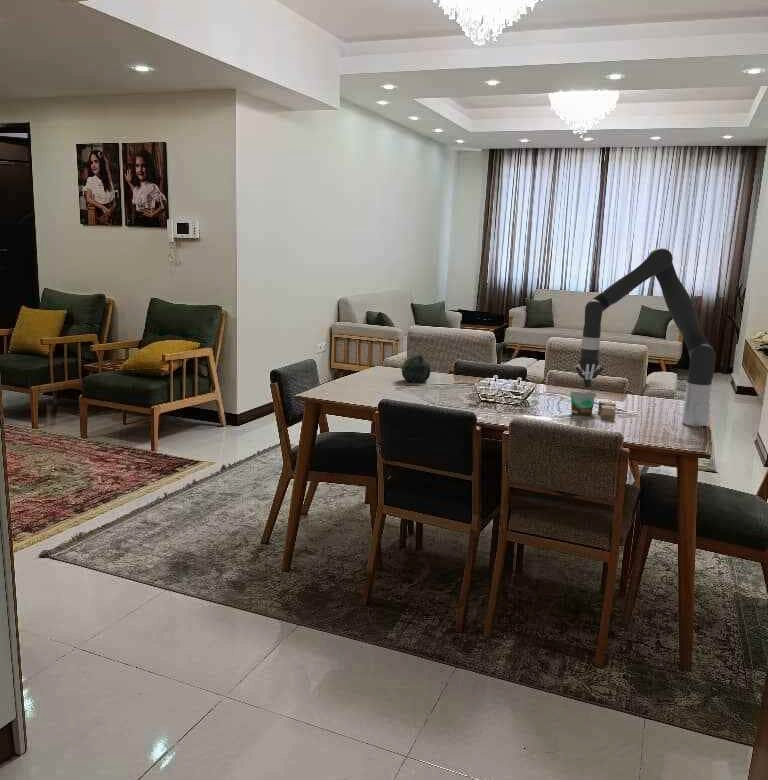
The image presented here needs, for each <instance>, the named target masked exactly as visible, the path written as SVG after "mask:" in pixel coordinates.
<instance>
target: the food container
mask: <svg viewBox="0 0 768 780" xmlns="http://www.w3.org/2000/svg"><path fill="white" fill-rule="evenodd" d="M569 396H570V398H571V399H570V401H571V405H570V406H571V407H570V408H571V410H570V411H571V413H570V414H571V415H575V416H581V417H582V416H583V417H584V416H585V417H586V416H587V417H588V416H591V415H593V409H594V404H595V398H597V391H596V390H595V389H592V390H591V391H578V392H577V391H573V390H572V391H570V394H569Z"/></svg>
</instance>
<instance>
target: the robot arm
mask: <svg viewBox="0 0 768 780" xmlns="http://www.w3.org/2000/svg"><path fill="white" fill-rule="evenodd" d="M673 259H674V258H673V254H672V252H671V251H670V250H669V249H666V248H664V247H659V248H655V249H653V250H652V251H651V252H650V253H649V254H648V256H647V257H646V258H645V260H643V262H642V263H640V264H639V265H638V266H637V267H635V268H634V269H633V270H632V271H629V273H627V274H625V275H623V276H622V277H620V278H619V279H617V281H615V282H614V283H612V284H611V285H609V286H608V287H607V288H605V289H604V290H603V291H602V292H601V293H599V294H598V295H596V296H594V297H593V298H591V299H590V300H589V301H588V302H587V303H586V305H585V306H584V324H583V328H582V329H583V330H582V340H581V343H580V344H581V345H580V359H579V361H578V364H576V365H573V369H574V371H575V372H576V373H577V375H578V377H580V378H581V379H583V381H582V382H583V383H582V385H583V386H582V387H584V388H585V389H590V387H591V386H592V380H593V379H596V378H598V376H599V375H600V374H601V373H602V371H603V370H605V367H603V366H602V365H600V362H599V358H600V349H601V330H602V328H601V327H602V326H601V325H602V324H601V323H602V316H603V312H604V311H605V310H606V309H608V308H609V307H610V306H612V305H614V304H616V303H618V302H619V301H621V300H622V299H623V298H624V297H626V296H628V294H630V293H631V292H632V291H633V290H635V289H636V288H637V287H639V286H640V285H642V283H644V282H646V281H647V280H648V279H650V278H651V277H653V276H654V277H655V278H656V280H657V282H658V284H659V286H660V289H661V293H662V296H663V299H664V302H665V305H666V308H667V309H668V312H669V314H670V316H671V318H672V320H673V322H674V324H675V326H676V327H677V329H678V331H679V332H680V333H681V336H682V337H683V339H684V342H685V345H686V348H687V352H688V356H689V364H688V365H689V366H688V367H689V368H688V372H687V373H688V374H687V378H686V387H685V393H684V394H685V395H684V403H683V410H682V411H683V414H682V421H681V423H682V424H683V423H684V424H683V425H685V426H689V427H693V428H695V427H696V428H697V427H703V426H706V427H707V428H708V425H709V424H708V423H709V416H710V415H709V414H710V407H711V404H710V400H711V399H710V397H711V391H712V390H711V389H712V384H713V379H714V372H715V366H716V358H717V357H716V356H717V355H716V351H715V350H714V348H713V347H712V346H711V345H710V343H709V342H708V339H707V338H706V335H705V334H704V332H703V330H702V327H701V325H700V320H699V317H698V312H697V311H696V308H695V305H694V302H693V301H692V298H691V296H690V294H689V293H688V290H687V289H686V287H685V286H684V284H683V283H682V282H681V281H680V279H679V277H678V275H677V272H676V269H675V266H674V263H673V262H674V261H673Z"/></svg>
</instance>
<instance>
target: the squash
mask: <svg viewBox="0 0 768 780" xmlns="http://www.w3.org/2000/svg"><path fill="white" fill-rule="evenodd" d="M431 371H432V367H431V364H430V362H429V361H428V360H427V359H426V358H425V357H424V356H423V355H422V354H417V355H414V356H412V357H409V358H408V359H406V360H405V361H404V363H403V365H402V367H401V375H402V378H403V379H404V381H405V380H406V381H407V380H410V381H409V382H417V381H419V382H418V383H424V382H423V381H425V382H427V381H428V379H429V378H430V376H431Z"/></svg>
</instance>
